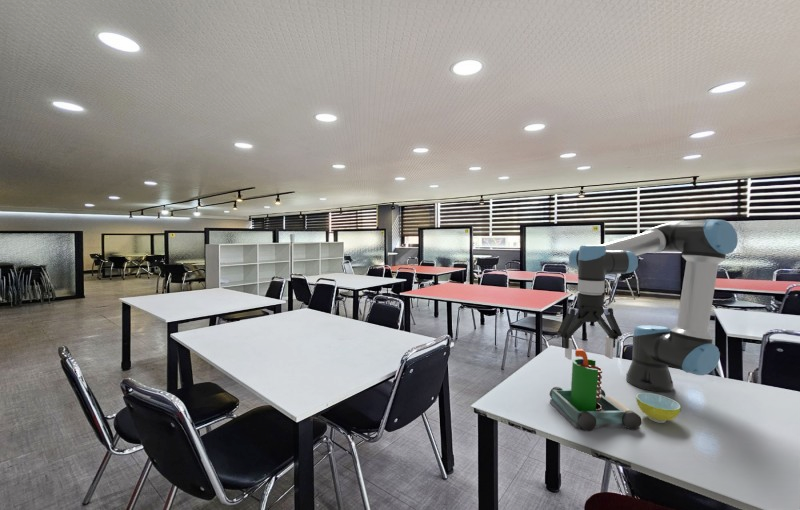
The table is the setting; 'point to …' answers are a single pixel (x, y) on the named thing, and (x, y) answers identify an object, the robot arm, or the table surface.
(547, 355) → the table surface
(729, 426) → the table surface
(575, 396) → the motor
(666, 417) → the bowl
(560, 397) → the chassis
